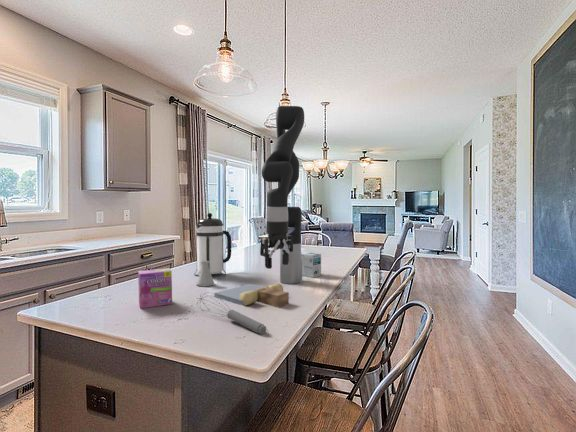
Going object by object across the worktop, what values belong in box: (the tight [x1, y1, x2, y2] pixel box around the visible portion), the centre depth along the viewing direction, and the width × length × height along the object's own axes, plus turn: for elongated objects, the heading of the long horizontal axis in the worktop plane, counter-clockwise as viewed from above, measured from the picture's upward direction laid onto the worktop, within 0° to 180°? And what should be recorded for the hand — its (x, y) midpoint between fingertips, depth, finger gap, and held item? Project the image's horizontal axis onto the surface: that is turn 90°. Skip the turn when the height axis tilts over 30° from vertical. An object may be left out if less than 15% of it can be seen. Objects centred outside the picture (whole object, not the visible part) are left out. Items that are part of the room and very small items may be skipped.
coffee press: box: [194, 212, 232, 277], centre depth 165 cm, size 17×16×30 cm
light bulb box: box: [301, 251, 322, 278], centre depth 165 cm, size 11×7×11 cm, turn 49°
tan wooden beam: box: [254, 286, 290, 308], centre depth 121 cm, size 12×6×4 cm, turn 50°
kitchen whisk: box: [196, 291, 270, 336], centre depth 102 cm, size 6×34×6 cm, turn 46°
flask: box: [195, 261, 215, 287], centre depth 146 cm, size 7×7×10 cm
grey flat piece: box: [213, 282, 284, 306], centre depth 128 cm, size 18×18×4 cm
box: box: [137, 267, 173, 309], centre depth 118 cm, size 10×6×12 cm, turn 118°
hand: (277, 266), depth 119 cm, fingers open, 8 cm apart
